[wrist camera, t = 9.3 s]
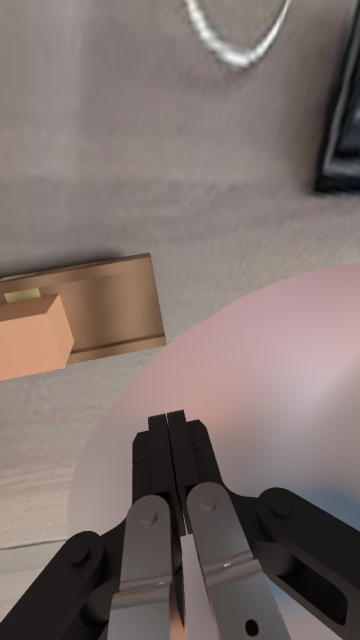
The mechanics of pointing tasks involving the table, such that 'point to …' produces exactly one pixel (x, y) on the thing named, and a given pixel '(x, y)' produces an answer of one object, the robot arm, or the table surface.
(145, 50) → the table surface
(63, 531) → the table surface
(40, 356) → the block
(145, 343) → the beam
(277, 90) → the table surface
